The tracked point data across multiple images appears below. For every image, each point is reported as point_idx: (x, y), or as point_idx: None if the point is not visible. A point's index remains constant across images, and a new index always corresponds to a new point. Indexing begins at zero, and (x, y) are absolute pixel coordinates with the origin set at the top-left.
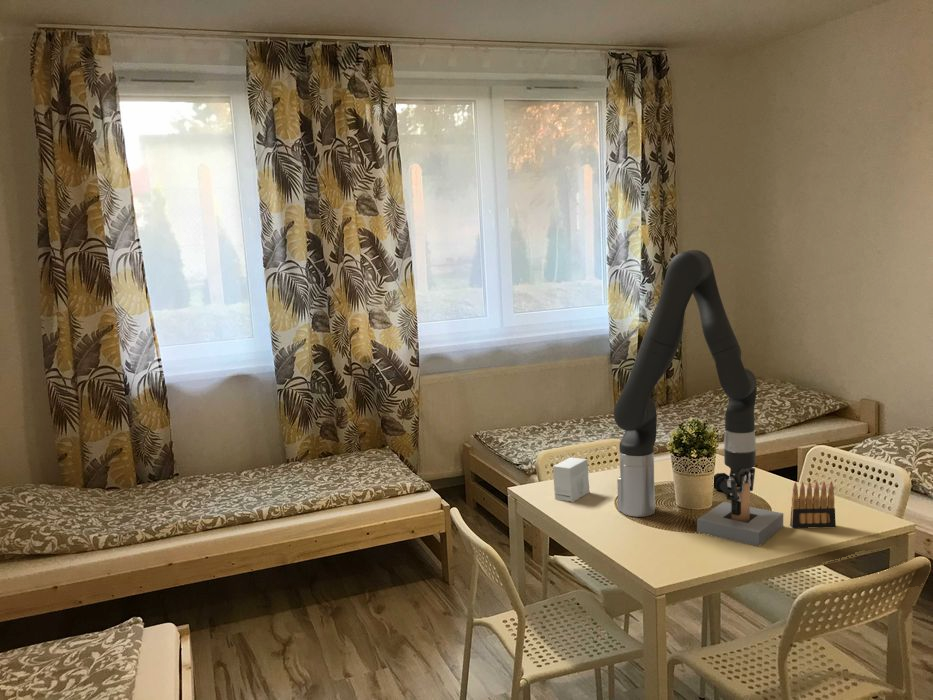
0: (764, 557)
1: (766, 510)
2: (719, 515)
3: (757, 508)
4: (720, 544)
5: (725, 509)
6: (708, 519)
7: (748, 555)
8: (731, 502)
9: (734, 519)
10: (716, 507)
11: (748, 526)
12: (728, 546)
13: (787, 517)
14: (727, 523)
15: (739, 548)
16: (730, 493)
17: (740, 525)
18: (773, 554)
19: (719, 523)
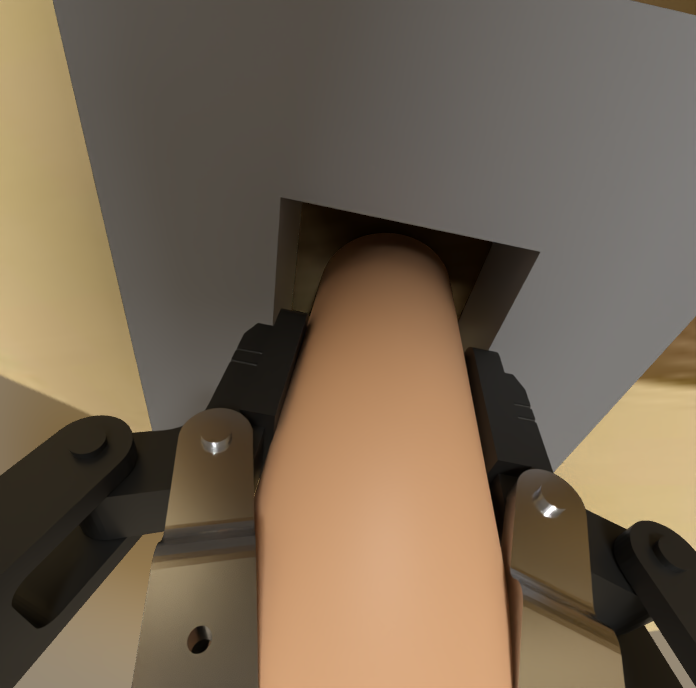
0: (94, 405)
1: (562, 450)
2: (324, 153)
3: (607, 407)
4: (61, 205)
5: (553, 171)
6: (133, 56)
7: (57, 355)
8: (247, 388)
9: (319, 290)
10: (630, 27)
11: (207, 392)
12: (74, 256)
13: (653, 450)
14: (166, 268)
15: (98, 311)
16: (169, 500)
17: (190, 353)
18: (149, 427)
19: (114, 207)
